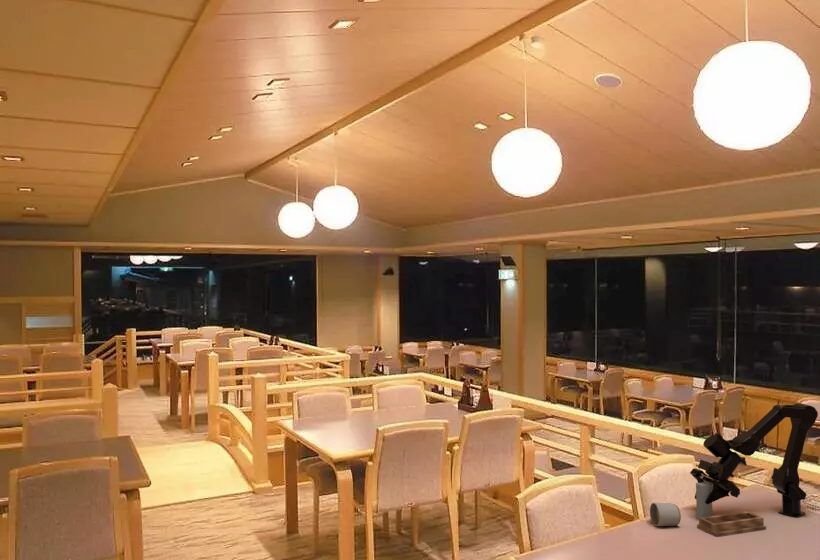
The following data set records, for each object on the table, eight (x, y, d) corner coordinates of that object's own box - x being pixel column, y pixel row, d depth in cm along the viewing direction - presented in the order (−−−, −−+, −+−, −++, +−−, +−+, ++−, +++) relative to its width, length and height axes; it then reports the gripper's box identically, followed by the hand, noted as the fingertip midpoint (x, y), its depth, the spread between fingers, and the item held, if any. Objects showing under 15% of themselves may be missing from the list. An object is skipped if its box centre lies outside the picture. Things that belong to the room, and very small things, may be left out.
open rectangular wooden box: (745, 520, 226) (745, 510, 226) (766, 529, 218) (765, 518, 218) (697, 527, 221) (696, 517, 221) (716, 536, 212) (716, 526, 212)
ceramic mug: (682, 528, 220) (682, 505, 220) (659, 529, 219) (658, 506, 220) (667, 518, 231) (666, 496, 231) (645, 519, 230) (644, 497, 230)
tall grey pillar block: (706, 517, 230) (705, 482, 230) (712, 520, 227) (711, 484, 227) (696, 518, 229) (695, 483, 229) (702, 521, 226) (701, 485, 226)
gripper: (693, 445, 238) (668, 479, 235) (732, 458, 220) (705, 494, 217) (712, 465, 240) (687, 498, 237) (751, 479, 222) (726, 515, 219)
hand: (700, 501), depth 228 cm, fingers open, 5 cm apart
